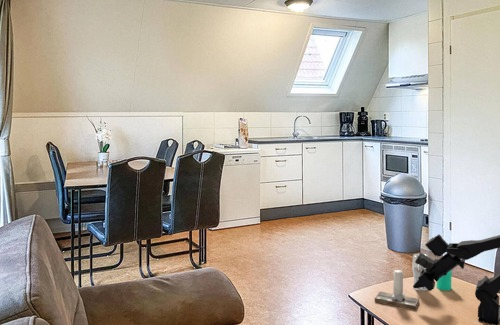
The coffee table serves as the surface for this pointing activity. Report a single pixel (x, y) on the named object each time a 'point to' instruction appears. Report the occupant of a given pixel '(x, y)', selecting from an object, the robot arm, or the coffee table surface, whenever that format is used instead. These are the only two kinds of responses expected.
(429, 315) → the coffee table surface
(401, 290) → the tuning slider
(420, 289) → the beer glass
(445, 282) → the candle
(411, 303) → the board
